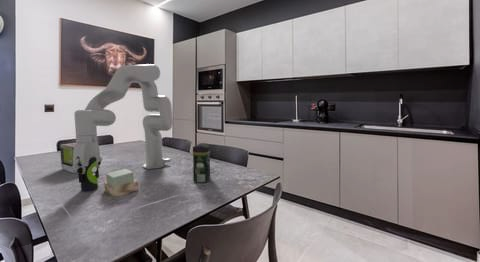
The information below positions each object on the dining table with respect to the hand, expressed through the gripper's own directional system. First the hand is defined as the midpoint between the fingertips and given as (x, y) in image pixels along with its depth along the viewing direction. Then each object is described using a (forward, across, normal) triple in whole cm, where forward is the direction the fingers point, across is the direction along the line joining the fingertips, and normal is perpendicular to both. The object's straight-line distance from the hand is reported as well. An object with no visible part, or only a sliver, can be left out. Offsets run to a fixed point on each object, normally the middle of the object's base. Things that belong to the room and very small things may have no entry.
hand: (89, 179), depth 102 cm
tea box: (+5, -28, -32) cm, 42 cm away
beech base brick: (+4, -1, +15) cm, 15 cm away
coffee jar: (+5, -21, +44) cm, 49 cm away
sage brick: (0, 0, +14) cm, 15 cm away
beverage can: (+5, 0, 0) cm, 5 cm away
